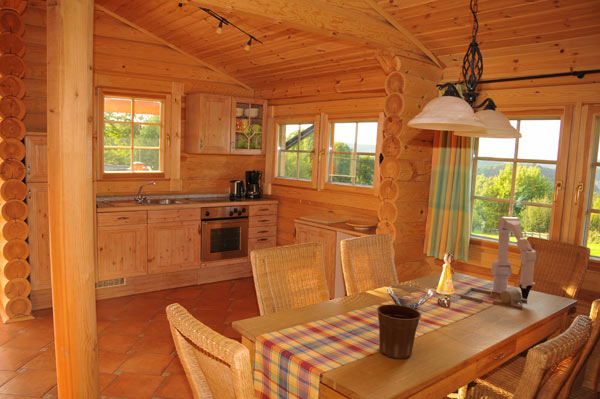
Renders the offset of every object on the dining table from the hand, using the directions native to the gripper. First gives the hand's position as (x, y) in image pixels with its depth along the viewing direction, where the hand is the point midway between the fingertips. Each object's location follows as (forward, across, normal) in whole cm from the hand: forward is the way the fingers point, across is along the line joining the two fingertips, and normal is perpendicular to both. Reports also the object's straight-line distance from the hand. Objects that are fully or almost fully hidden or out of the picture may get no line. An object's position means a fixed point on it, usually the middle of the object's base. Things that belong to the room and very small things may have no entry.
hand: (524, 298), depth 233 cm
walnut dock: (+4, 0, +7) cm, 8 cm away
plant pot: (+4, -98, +29) cm, 102 cm away
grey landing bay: (+4, 0, +24) cm, 24 cm away
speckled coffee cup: (+4, -1, +6) cm, 7 cm away
